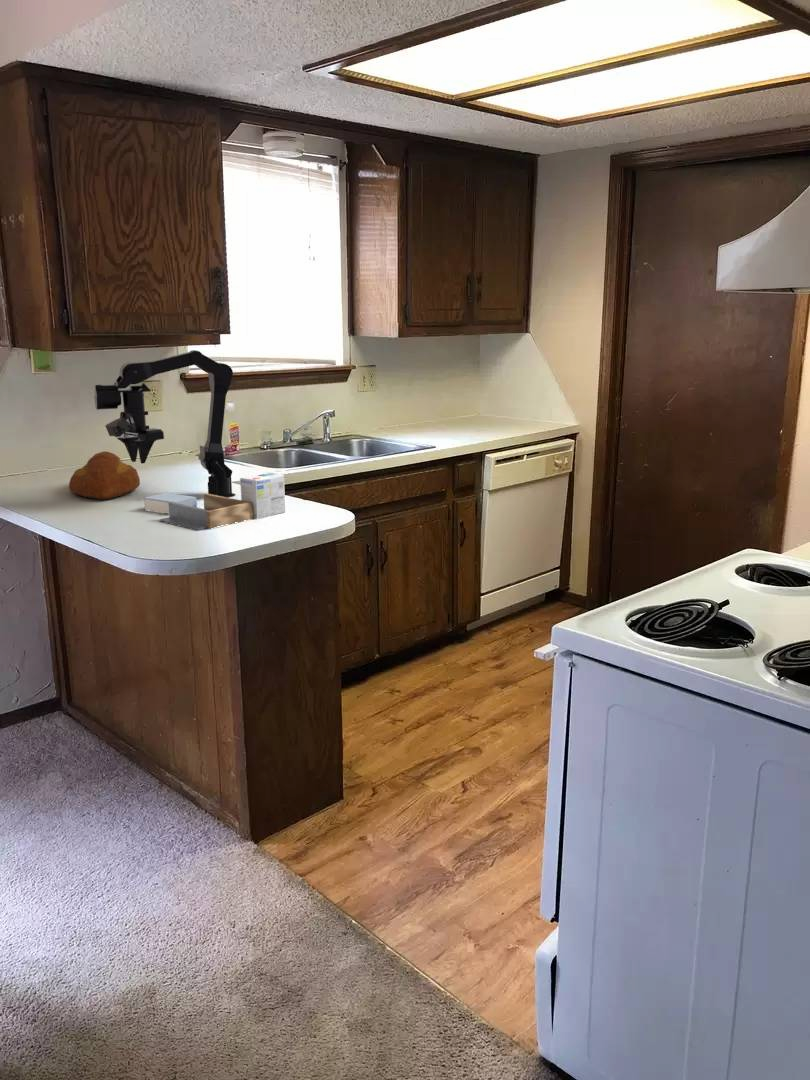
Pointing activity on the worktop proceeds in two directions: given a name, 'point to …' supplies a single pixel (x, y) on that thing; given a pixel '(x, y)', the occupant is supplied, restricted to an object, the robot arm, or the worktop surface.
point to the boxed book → (167, 501)
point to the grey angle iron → (187, 516)
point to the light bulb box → (264, 493)
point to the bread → (104, 477)
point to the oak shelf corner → (226, 510)
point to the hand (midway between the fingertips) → (138, 462)
